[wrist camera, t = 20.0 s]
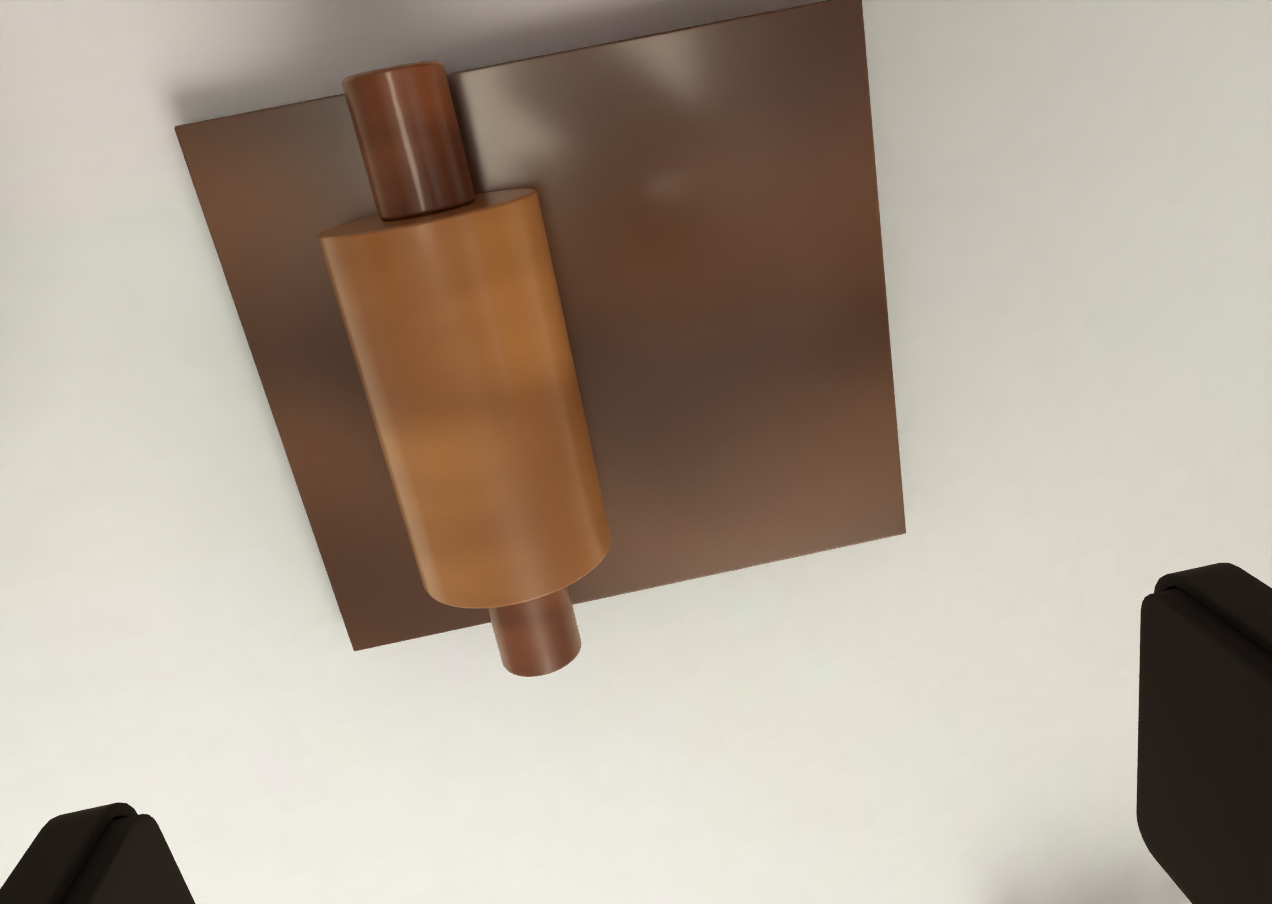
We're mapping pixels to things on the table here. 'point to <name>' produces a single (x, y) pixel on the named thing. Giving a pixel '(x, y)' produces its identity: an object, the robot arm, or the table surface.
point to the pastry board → (611, 298)
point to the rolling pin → (468, 372)
